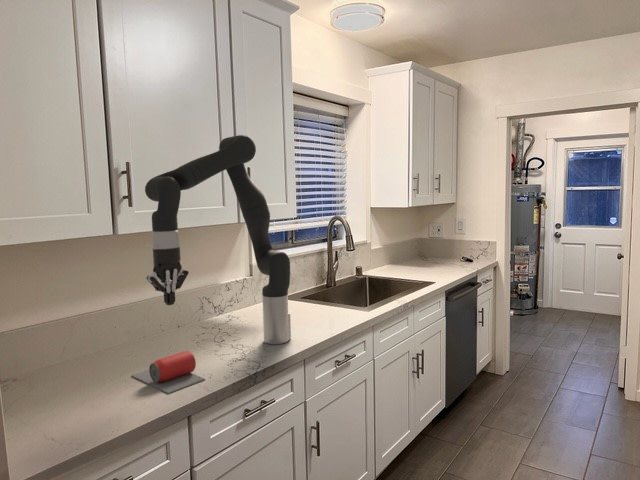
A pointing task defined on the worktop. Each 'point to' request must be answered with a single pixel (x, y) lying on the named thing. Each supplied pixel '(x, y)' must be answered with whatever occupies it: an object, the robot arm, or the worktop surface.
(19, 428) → the worktop surface
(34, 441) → the worktop surface
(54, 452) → the worktop surface
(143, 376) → the slate mat
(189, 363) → the beer can
